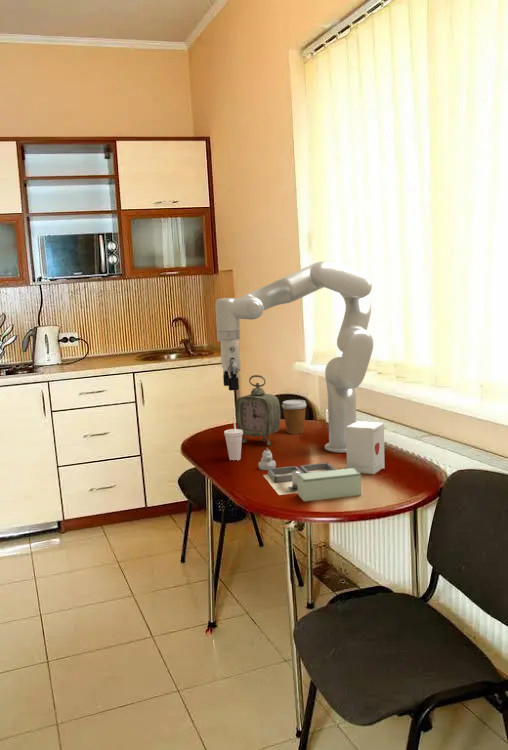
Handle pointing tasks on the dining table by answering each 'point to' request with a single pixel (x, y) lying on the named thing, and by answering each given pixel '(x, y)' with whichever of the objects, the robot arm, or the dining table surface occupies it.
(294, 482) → the pin
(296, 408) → the disposable coffee cup
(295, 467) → the socket
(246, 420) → the tabletop clock
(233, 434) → the smoothie
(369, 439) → the supplement box
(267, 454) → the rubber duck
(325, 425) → the dining table surface
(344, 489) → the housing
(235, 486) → the dining table surface
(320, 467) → the socket
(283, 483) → the board
